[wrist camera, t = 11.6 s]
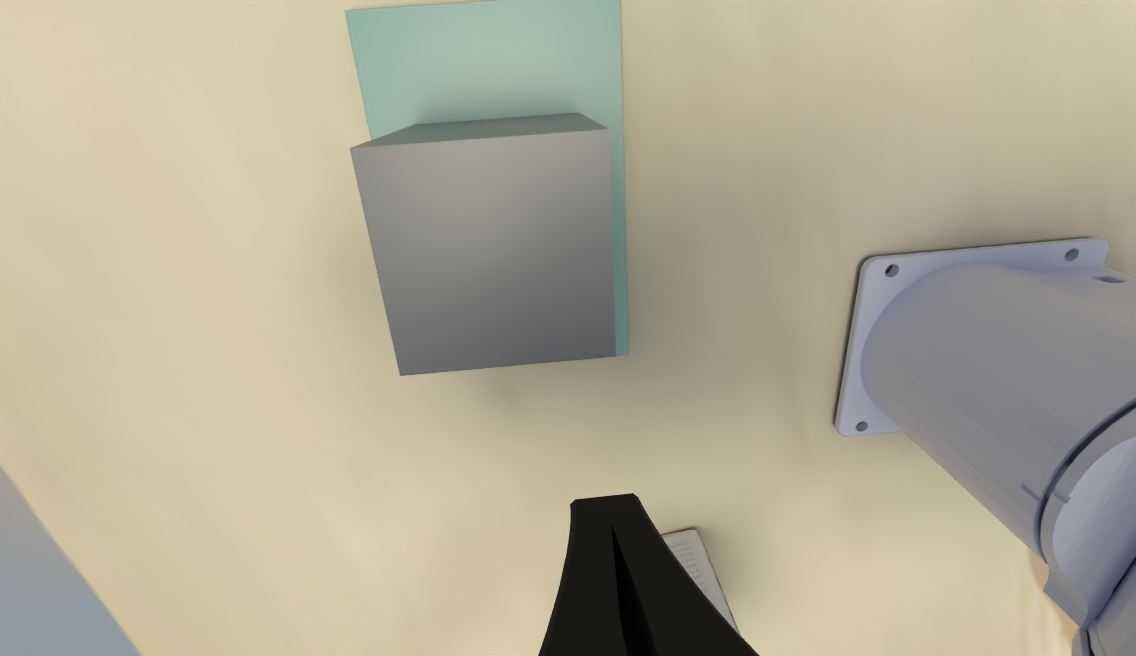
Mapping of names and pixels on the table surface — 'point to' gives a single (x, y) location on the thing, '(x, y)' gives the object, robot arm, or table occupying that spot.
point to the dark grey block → (492, 240)
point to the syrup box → (699, 568)
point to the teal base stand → (499, 76)
